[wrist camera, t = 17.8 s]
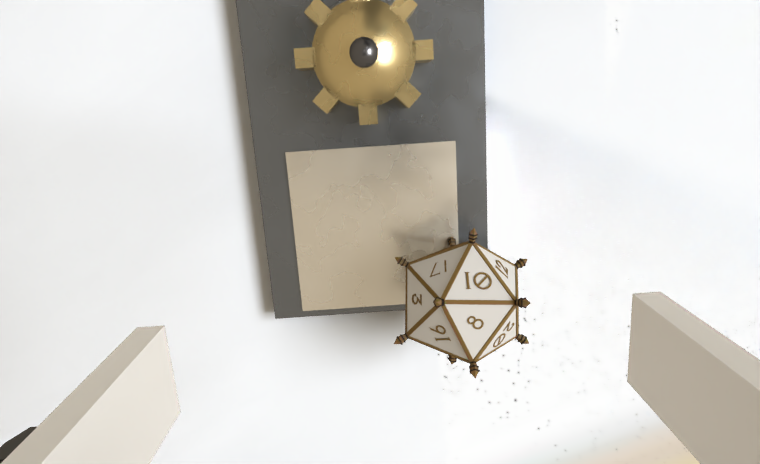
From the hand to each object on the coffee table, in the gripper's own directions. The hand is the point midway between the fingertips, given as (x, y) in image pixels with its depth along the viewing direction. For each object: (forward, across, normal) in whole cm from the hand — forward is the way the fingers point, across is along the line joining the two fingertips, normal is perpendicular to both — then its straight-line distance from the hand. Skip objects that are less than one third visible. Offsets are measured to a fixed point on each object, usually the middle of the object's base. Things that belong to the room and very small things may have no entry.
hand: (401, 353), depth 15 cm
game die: (+17, 0, -2) cm, 17 cm away
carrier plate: (+22, -1, +3) cm, 22 cm away
